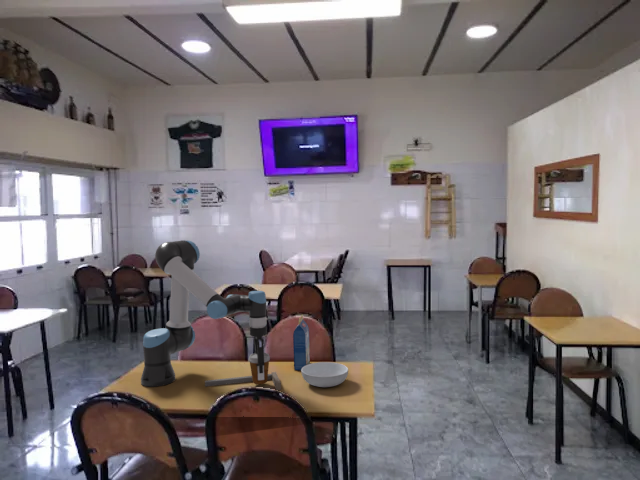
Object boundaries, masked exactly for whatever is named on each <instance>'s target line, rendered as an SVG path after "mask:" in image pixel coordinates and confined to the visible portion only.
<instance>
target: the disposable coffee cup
mask: <svg viewBox="0 0 640 480" xmlns="http://www.w3.org/2000/svg"><path fill="white" fill-rule="evenodd" d="M270 359H271V357H270V355H269V353H266V352H264V380H258V367H257V366H256V365H257V364H258V358H257V354H256V353H255V352H254V353H251V354H250V355H249V357H248V361H249V366H250V372H251V376H252V379H253V381H252V383H253V384H254V385H264V384H266V383H268V380H267V378H268V374H269V368H270V367H269V365H270ZM260 363H262V362H260Z"/></svg>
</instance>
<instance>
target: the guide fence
mask: <svg viewBox="0 0 640 480" xmlns="http://www.w3.org/2000/svg"><path fill="white" fill-rule="evenodd" d="M269 380H270V381H272V383H273V385H274V388H275V390H276V391H281V390H282V385H281V383H282V382H281V380H280V378H279V377H278V373H277V371H271V373H268V378H267V381H269ZM241 383H253V379H252V375H244V376H237V377H229V378H228V377H227V378H218V379H217V378H216V379H209V380H207V379H206V380H204V387H213V386H222V385H233V384H241Z"/></svg>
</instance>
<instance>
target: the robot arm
mask: <svg viewBox="0 0 640 480" xmlns="http://www.w3.org/2000/svg"><path fill="white" fill-rule="evenodd" d="M154 259H155V261H156V264H157V265H158V267H159V268H160V270H161V271H163V272H164V273H165V274H166V275H171V281H170V282H171V284H170V287H171V289H170V303H169V304H170V306H169V320H168V321H167V322H166V324H165V328H164V327H163V328H161V327H159V328H156V329H151V330H149V331H147V332H146V333H145V334H143V340H142V341H143V342H142V346H143V362H144V367H143V371H142V374H141V377H140V384H141V385H142V386H143V387H153V388H154V387H162V386H166V385H169V384H171V383H173V382H175V381H176V372H175V370H174V367H173V365H172V362H171V361H172V360H171V359H172V358H171V355H173V354H175V353H178V352H182V351H185V350H187V349H189V348H190V347H192V345H193V344H194V343H195V339H196V332H195V330H194V328H193V326H192V323H191V322H190V321H189V310H190V309H189V307H190V294H192V296H194V297H195V298H196V299H197V300H198V301H199V302H201V304H202V305H204V307H206V313H207V315H208V317H210V319H213V320H217V319H218V320H219V319H222V318H225V317H227V316H231V315H234V314H237V313H248V315H249V318H248V319H249V335H250V336H251V337H253V345H254V353H256V354H257V358H258V364H257V365H256V366H257V367H258V380H264V353H265V352H264V351H265V349H264V342H265V341H264V338H263V336H264V337H265V336H267V334H268V327H267V321H268V319H269V318H268V317H267V296H266V292H265V291H263V290H251V291H249V292H248V294H247V295H246V294H237V293H234V294H233V293H232V294H231V293H230V294H228V295H227V296H226V297H223V296H221V295H220V294H219V293H218V292H217V291H216V290H214V288H213V287H211V286H210V285H209V284H208V283H207V282H205V280H203V278H201V277H200V276H199V275H198V274H197V273H196V272H195V271H194V270H195V264H196V263H197V262H198V261H199V259H200V249H199V247H198V245H197V244H196V243H195V242H194V241H192V240H185V239H184V240H174V241H167V242H166V241H165V242H163V243H161V244H159V246H158V247H157V248H156V250H155V254H154ZM260 362H262V363H260Z"/></svg>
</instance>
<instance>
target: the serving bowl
mask: <svg viewBox="0 0 640 480" xmlns="http://www.w3.org/2000/svg"><path fill="white" fill-rule="evenodd" d="M300 371H301V375H302V378H303V380H304V381H305V382H306V383H307V384H309V385H310V386H313V387H320V388H330V387H335V386H338V385H340V384H342V383H344V381H345V380H346V379H347V377H348V376H349V375H348V374H349V368H348V367H347V366H346V365H345V364H342V363H339V362H333V361H332V362H331V361H318V362H312V363H309V364H308V365H306V366H304V367H303V368H302V369H301V370H300Z"/></svg>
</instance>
